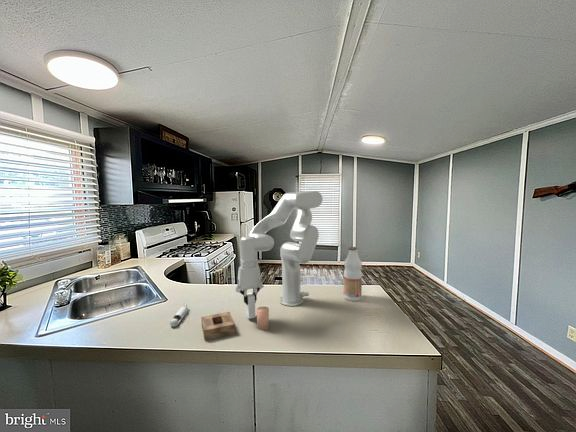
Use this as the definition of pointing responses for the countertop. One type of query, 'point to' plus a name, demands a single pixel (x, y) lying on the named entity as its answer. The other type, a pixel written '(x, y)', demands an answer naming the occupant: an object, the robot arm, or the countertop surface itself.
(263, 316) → the round peg
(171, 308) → the countertop surface
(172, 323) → the white long slotted part
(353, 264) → the fruit juice
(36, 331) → the countertop surface
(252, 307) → the flat bar peg
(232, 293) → the countertop surface
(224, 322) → the slot block
